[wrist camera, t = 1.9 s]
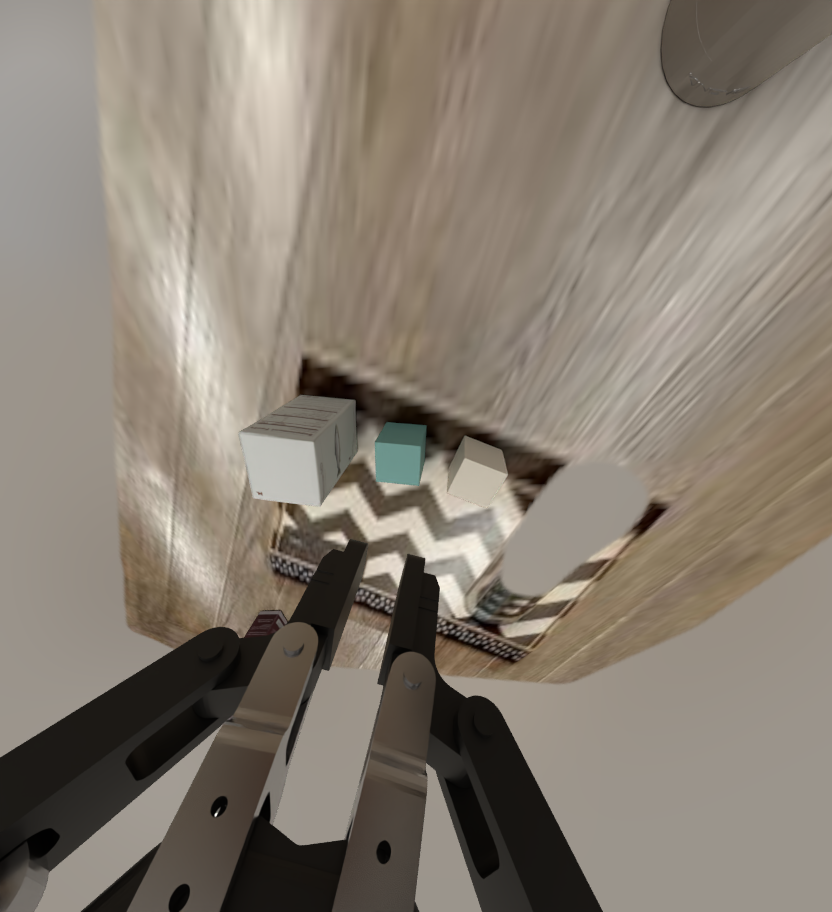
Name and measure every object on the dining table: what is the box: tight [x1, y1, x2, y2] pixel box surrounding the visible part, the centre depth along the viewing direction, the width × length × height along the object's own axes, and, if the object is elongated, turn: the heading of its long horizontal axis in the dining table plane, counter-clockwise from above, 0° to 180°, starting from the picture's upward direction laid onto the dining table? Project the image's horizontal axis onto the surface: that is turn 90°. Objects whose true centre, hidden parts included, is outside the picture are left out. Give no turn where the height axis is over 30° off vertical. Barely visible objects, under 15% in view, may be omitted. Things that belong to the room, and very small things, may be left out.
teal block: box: [375, 422, 427, 486], centre depth 38 cm, size 5×5×6 cm
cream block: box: [447, 436, 508, 509], centre depth 37 cm, size 5×5×6 cm
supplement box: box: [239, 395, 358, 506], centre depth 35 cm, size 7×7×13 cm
